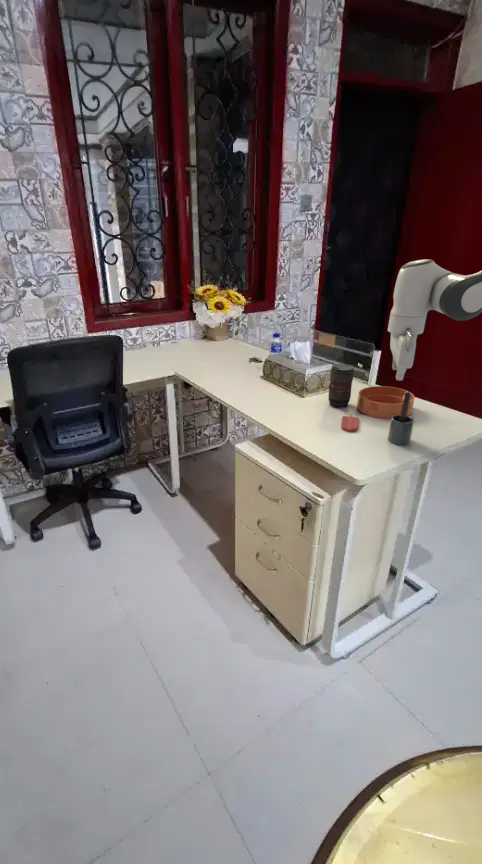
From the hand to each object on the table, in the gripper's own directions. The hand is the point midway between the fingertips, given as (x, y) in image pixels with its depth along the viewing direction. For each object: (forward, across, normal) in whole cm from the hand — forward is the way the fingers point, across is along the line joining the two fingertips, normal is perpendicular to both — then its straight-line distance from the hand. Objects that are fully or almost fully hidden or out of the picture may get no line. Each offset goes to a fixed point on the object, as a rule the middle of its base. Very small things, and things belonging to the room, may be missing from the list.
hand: (397, 374), depth 118 cm
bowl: (+22, +27, -2) cm, 35 cm away
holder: (+22, +1, -4) cm, 23 cm away
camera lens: (+23, +29, +14) cm, 39 cm away
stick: (+22, +1, -4) cm, 22 cm away
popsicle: (+22, +12, +10) cm, 27 cm away
